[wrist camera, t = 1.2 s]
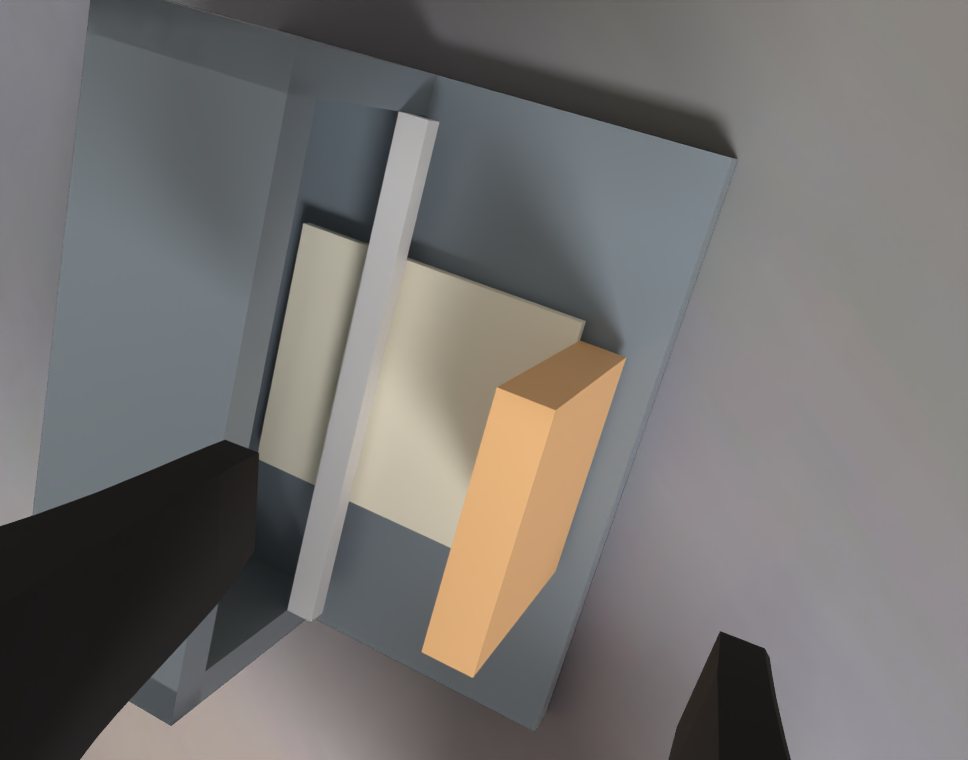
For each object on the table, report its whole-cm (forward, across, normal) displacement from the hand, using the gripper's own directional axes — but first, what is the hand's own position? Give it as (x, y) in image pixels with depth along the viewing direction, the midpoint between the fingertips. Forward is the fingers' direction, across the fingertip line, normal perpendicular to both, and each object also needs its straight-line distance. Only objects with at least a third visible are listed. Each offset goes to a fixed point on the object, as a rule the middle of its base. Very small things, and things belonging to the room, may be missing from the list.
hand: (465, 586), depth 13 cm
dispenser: (+11, +5, +4) cm, 12 cm away
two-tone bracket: (+9, +4, +4) cm, 11 cm away
